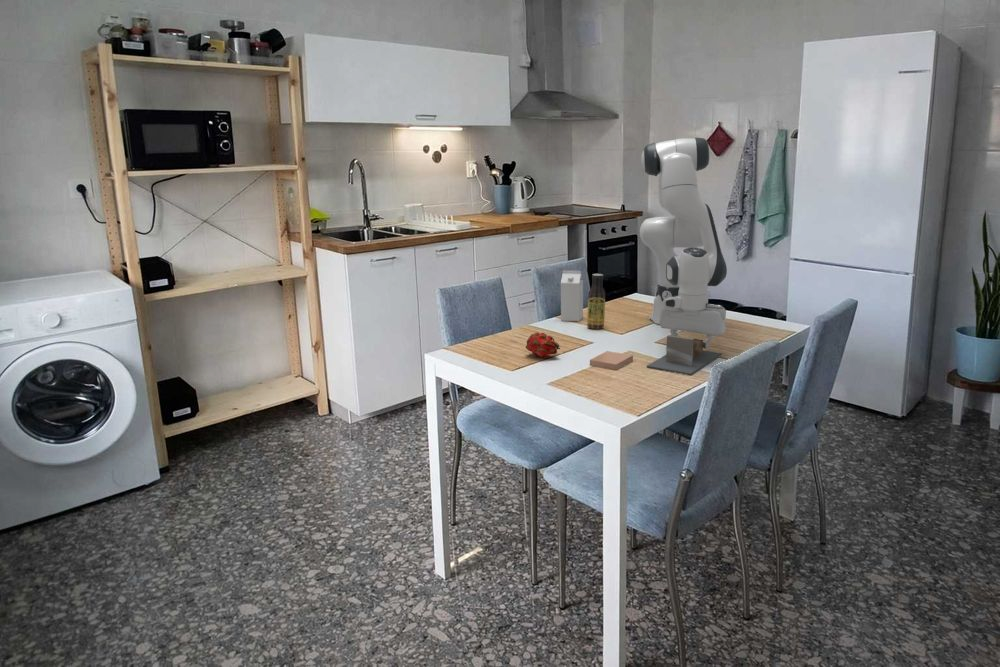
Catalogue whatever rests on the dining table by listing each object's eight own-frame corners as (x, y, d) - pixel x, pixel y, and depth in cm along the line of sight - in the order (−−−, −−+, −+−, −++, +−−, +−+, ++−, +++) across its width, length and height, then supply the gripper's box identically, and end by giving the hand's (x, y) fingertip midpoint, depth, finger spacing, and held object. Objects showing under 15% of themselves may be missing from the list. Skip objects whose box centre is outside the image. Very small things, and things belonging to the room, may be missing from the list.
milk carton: (565, 316, 277) (564, 268, 272) (583, 317, 274) (582, 269, 269) (561, 321, 270) (560, 272, 265) (579, 321, 268) (579, 272, 263)
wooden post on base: (686, 349, 226) (687, 325, 224) (710, 353, 222) (711, 328, 219) (666, 361, 215) (666, 336, 213) (691, 365, 210) (692, 339, 208)
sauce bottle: (586, 329, 256) (587, 276, 251) (587, 325, 262) (587, 272, 257) (605, 329, 255) (605, 275, 250) (605, 325, 261) (605, 272, 256)
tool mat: (680, 348, 230) (680, 346, 230) (722, 355, 221) (722, 353, 221) (646, 367, 212) (646, 365, 211) (690, 375, 203) (690, 373, 203)
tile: (607, 351, 223) (589, 359, 215) (633, 355, 218) (616, 364, 210) (607, 357, 224) (589, 366, 216) (632, 362, 219) (616, 371, 210)
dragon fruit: (526, 357, 231) (557, 367, 225) (516, 348, 224) (548, 359, 218) (536, 334, 233) (567, 344, 227) (526, 324, 225) (559, 334, 219)
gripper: (730, 303, 211) (727, 347, 215) (666, 296, 223) (665, 338, 227) (722, 307, 206) (719, 353, 210) (657, 300, 218) (656, 343, 222)
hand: (691, 345), depth 218 cm, fingers open, 8 cm apart
